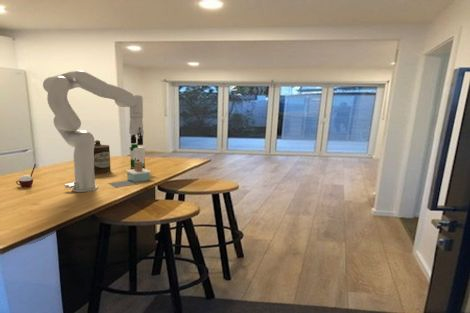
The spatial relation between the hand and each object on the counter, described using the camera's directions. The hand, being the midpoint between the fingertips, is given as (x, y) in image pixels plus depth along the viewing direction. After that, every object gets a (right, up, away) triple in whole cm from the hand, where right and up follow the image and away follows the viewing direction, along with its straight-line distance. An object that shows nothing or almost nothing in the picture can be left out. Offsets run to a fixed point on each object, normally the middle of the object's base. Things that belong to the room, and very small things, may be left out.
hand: (136, 144), depth 182 cm
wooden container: (-34, -18, +23) cm, 45 cm away
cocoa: (-55, -24, -18) cm, 62 cm away
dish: (0, -22, +4) cm, 22 cm away
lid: (0, -17, +3) cm, 17 cm away
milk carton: (-7, -19, +23) cm, 31 cm away
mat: (-5, -24, -9) cm, 26 cm away
